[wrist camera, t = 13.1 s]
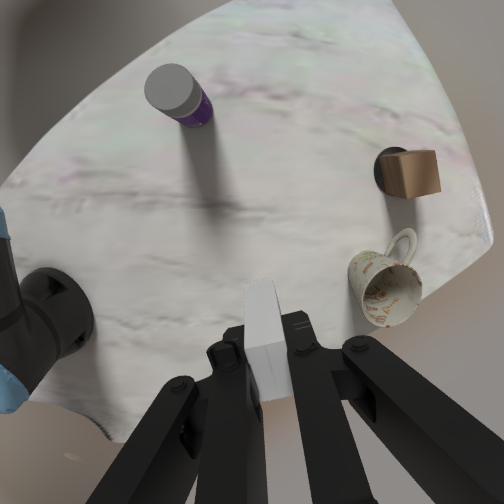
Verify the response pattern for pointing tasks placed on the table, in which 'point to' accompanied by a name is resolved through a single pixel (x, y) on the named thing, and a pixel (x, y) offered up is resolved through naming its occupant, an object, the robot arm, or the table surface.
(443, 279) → the table surface
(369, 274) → the mug
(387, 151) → the post
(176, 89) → the container
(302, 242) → the table surface
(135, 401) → the table surface
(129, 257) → the table surface
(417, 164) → the brown shipping carton
